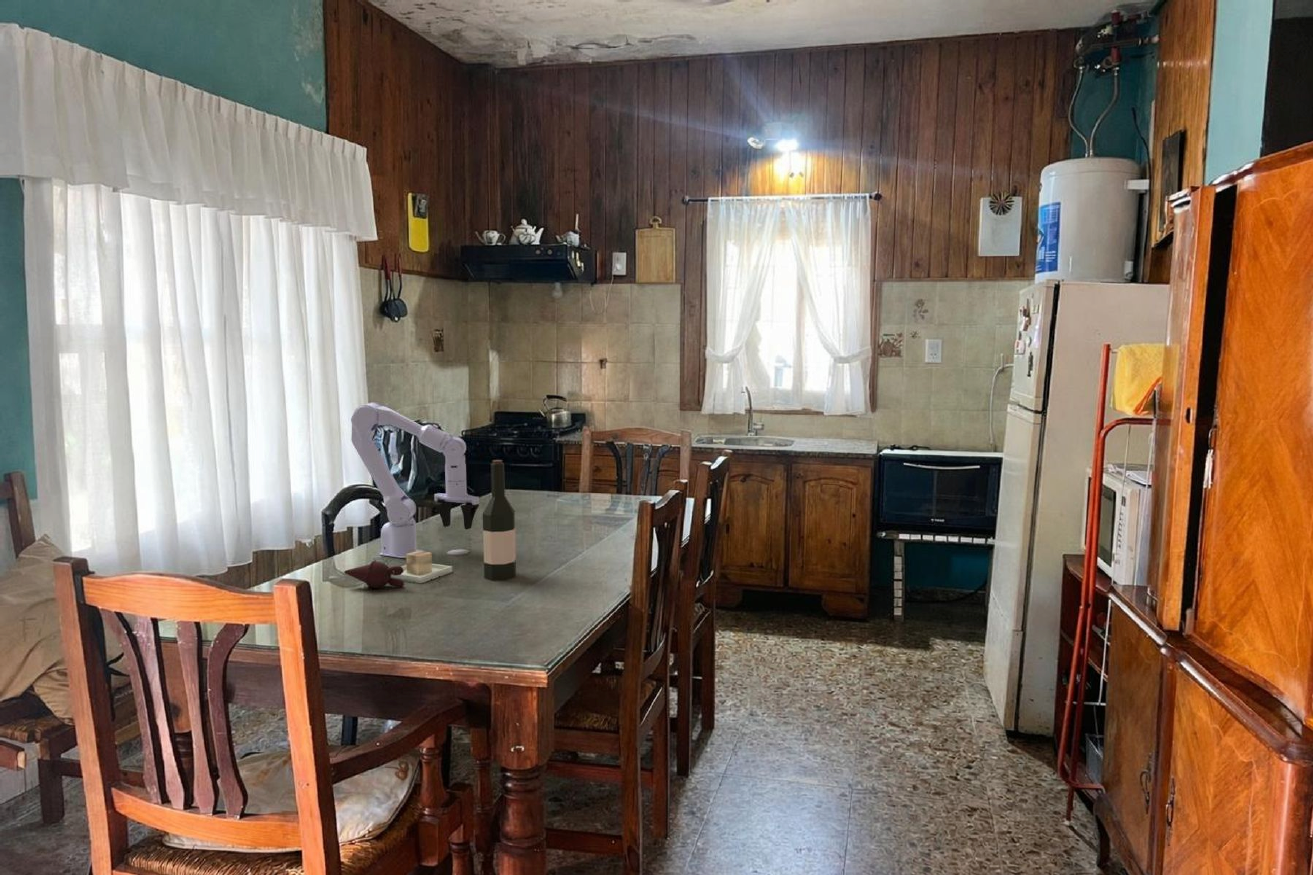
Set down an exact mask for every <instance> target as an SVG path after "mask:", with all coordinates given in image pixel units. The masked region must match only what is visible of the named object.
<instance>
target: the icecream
mask: <svg viewBox="0 0 1313 875" xmlns="http://www.w3.org/2000/svg"><path fill="white" fill-rule="evenodd" d="M403 572H404V570H403V568H402V567H401V566H400V565H398V566H390V567H389V566H388V565H387V564H385V563H383V562H381V561H377V560H374V561H371V562H370V564H366V565H362V566H358V567H353V568H350V569H347V570H344V574H346V575H348V576H350V577H352V578H354V579H356V580H359V581H361V582H363V583H365V584H366V586H367V588H368V589H369V590H370V589H372V588H373V589H379V588H384V587H386V585H390V586H392V587H395V588H404V586H405V581H402V580H400V579H396V578H391V575H394V576H396V575H400V574H402V573H403Z"/></svg>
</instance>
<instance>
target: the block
mask: <svg viewBox="0 0 1313 875" xmlns="http://www.w3.org/2000/svg"><path fill="white" fill-rule="evenodd" d="M432 554H433V553H432V552H429V551H424V550H422V551H416V552H412V553H408V554H406V558H405V559H406V563H405V564H406V565H407V573H409V574H414V575H418V576H419V575H422V574H426V573H429V572H432V564H433V557H432Z"/></svg>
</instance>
